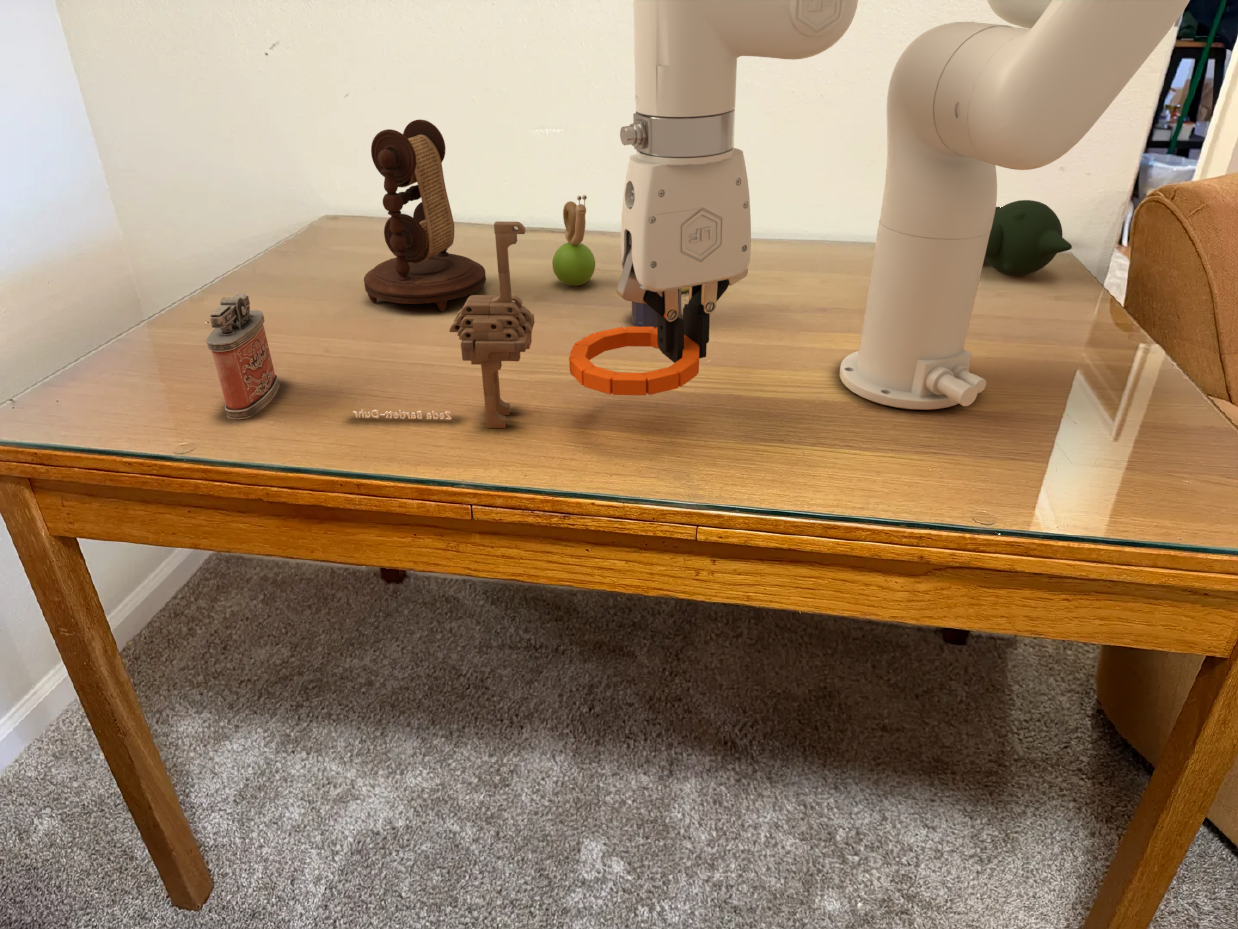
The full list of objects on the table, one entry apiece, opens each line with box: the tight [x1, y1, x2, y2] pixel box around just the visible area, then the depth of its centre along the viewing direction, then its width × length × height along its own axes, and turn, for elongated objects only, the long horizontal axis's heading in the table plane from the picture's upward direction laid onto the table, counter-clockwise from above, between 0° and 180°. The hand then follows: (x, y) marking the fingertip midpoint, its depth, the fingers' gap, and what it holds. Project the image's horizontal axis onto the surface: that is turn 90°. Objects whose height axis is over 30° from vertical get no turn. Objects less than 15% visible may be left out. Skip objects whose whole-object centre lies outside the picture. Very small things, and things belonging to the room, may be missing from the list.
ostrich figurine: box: [352, 221, 535, 429], centre depth 73 cm, size 17×7×18 cm, turn 88°
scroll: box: [363, 119, 487, 312], centre depth 101 cm, size 15×15×20 cm
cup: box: [631, 285, 683, 329], centre depth 96 cm, size 6×6×9 cm
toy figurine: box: [984, 199, 1073, 277], centre depth 114 cm, size 9×19×25 cm
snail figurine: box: [551, 194, 596, 287], centre depth 105 cm, size 5×6×12 cm
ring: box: [568, 326, 700, 396], centre depth 73 cm, size 11×11×1 cm
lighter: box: [205, 292, 281, 420], centre depth 78 cm, size 8×3×10 cm, turn 178°
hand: (683, 353), depth 75 cm, fingers closed on ring, 1 cm apart
